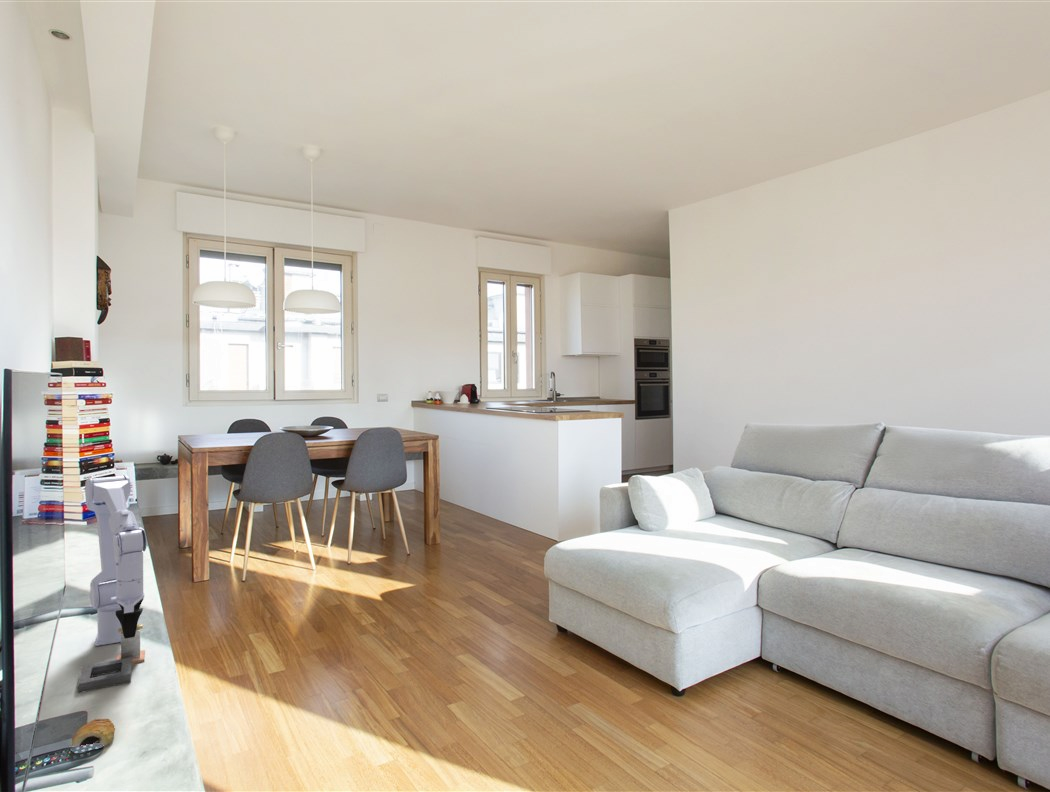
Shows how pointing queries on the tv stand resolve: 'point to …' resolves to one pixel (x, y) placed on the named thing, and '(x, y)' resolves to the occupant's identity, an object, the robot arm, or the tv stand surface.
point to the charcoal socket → (107, 680)
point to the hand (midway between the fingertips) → (130, 631)
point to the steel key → (130, 645)
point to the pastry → (95, 733)
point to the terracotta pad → (141, 659)
